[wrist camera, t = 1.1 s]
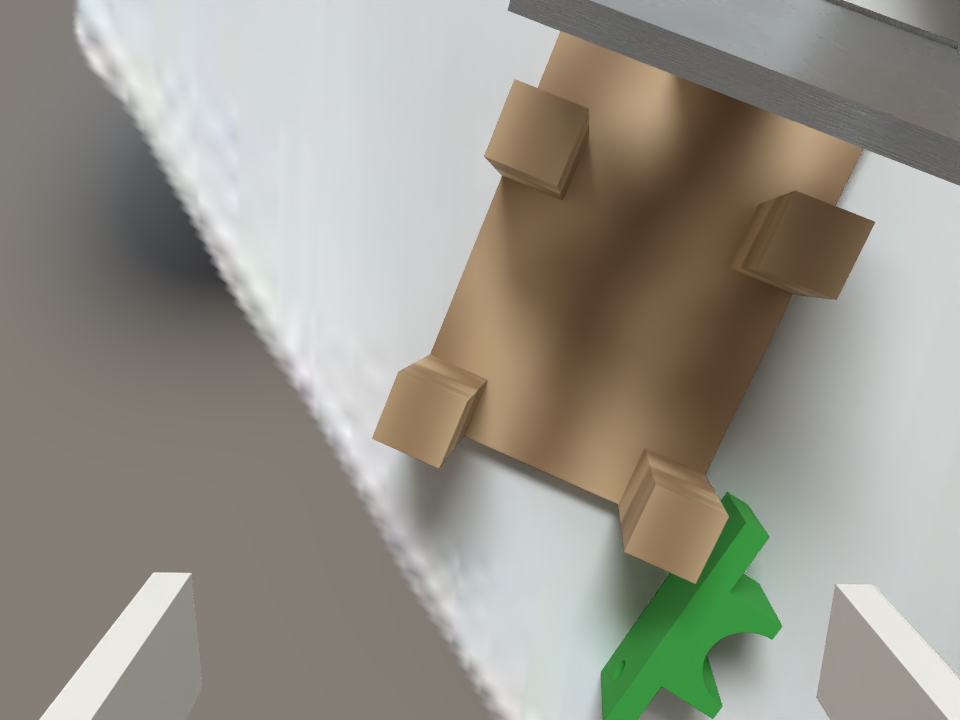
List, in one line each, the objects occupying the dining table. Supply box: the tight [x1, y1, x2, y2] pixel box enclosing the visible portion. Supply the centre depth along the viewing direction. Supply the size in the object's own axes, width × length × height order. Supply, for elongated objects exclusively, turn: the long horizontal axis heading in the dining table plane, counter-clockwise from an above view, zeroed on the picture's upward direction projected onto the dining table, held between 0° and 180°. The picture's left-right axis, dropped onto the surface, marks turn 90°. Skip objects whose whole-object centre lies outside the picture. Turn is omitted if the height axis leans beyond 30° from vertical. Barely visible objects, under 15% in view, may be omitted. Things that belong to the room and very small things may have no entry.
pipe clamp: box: [601, 492, 782, 720], centre depth 34 cm, size 11×4×5 cm, turn 149°
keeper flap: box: [508, 0, 960, 185], centre depth 23 cm, size 13×9×1 cm
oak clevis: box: [372, 31, 875, 584], centre depth 31 cm, size 14×22×7 cm, turn 158°
